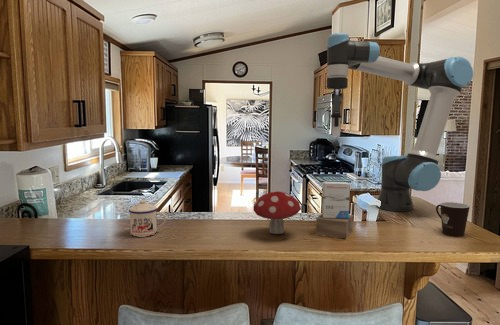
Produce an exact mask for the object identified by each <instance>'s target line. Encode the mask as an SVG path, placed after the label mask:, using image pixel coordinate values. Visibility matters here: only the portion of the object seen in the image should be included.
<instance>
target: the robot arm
mask: <svg viewBox="0 0 500 325" xmlns="http://www.w3.org/2000/svg"><path fill="white" fill-rule="evenodd" d="M380 49H381V48H380V46H379V43H377V42H374V41H369V40H368V41H367V40H366V41H361V40H351V39H350V38H349V34H348V33H345V32H337V33H336V32H335V33H332V34H330V35H329V36H328V38H327V45H326V50H327V52H326V53H327V57H326V59H327V60H326V61H327V63H326V65H327V67H326V68H325V72H327V74H326V77H327V78H326V89H328V90H333V91H332V93H331V104H332V106H333V108H332V114H330V118H332V123H331V124H332V127H331V128H332V132H331V136H332V137H340V136H341V119H342V115H341V114H342V113H341V105H342V102H343V100H342V99H343V93H342V90H345V89H347V88H348V87H349V86H348V83H349V80H348V78H347V77H349V70H354V71H357V72H362V73H365V74H371V75H375V76H380V77H383V78H387V79H388V78H389V79H390V80H391V79H392V80H397V81H401V82H404V84H405V85H407V86H410V87H411V86H412V87H415V88H420V89H422V90H423V89H424V90H427V91H429V93H430V96H429V99H428V102H427V105H426V108H425V111H424V115H423V117H422V122H421V125H420V128H419V130H418V134H417V137H416V141H415V143H414V147H413V149H412V151H409V152H408V153H407V155H389V156H384V157H383V158H382V160H381V179H380V180H381V181H380V182H381V183H380V184H381V185H380V186H381V189H380V192H379V195H378V197H377V199H378V200H380V201H381V206H380V208H379V209H380V210H384V211H389V212H411V211H413V210H414V202H413V199H412V195H411V191H410V189H411V190H414V191H417V192H418V191H419V192H420V191H421V192H429V191H431V190H432V189H434V188H436V186H438V185H439V183H440V180H441V176H442V171H441V168H440V166H439V159H438V158H437V154H438V151H439V148H440V144H441V141H442V138H443V134H444V132H445V130H446V129H445V128H446V125H447V122H448V119H449V117H450V113H451V111H452V110H451V109H452V107H453V103H454V101H455V98H457V97H459V96H460V95H461V94H462V93H461V92H462V90H463V88H464V87H466V86H467V85H469V84H470V83H471V81H472V79H473V76H474V70H473V67H472V64H471V62H470V61H469V60H468V59H467V58H465V57H463V56H454V57H453V56H451V57H447V58H444V59H441V60H436V61H432V62H425V63H423V62H422V63H421V62H420V63H419V62H416V61H413V62H410V63H409V62H404V61H401V60H396V59H393V58H388V57H384V56H380V54H381V53H380V51H381V50H380Z"/></svg>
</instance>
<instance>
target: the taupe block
mask: <svg viewBox="0 0 500 325" xmlns="http://www.w3.org/2000/svg"><path fill="white" fill-rule="evenodd" d="M353 224H354V215H353V214H349V218H348V219H344V218H323V216H322V213H321V214H320V215H319V216H317V217H316V219H315V235H316V234H318V235H325V236H332V237H337V238H336V239H340V238H345V239H344V240H347V239H348V238H349V237H350V235H351V234H352V233H353V228H354V227H353ZM351 232H352V233H351ZM350 233H351V234H350ZM318 235H317V236H318ZM325 236H324V237H325ZM332 237H331V238H332ZM347 237H348V238H347ZM346 238H347V239H346Z"/></svg>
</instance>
